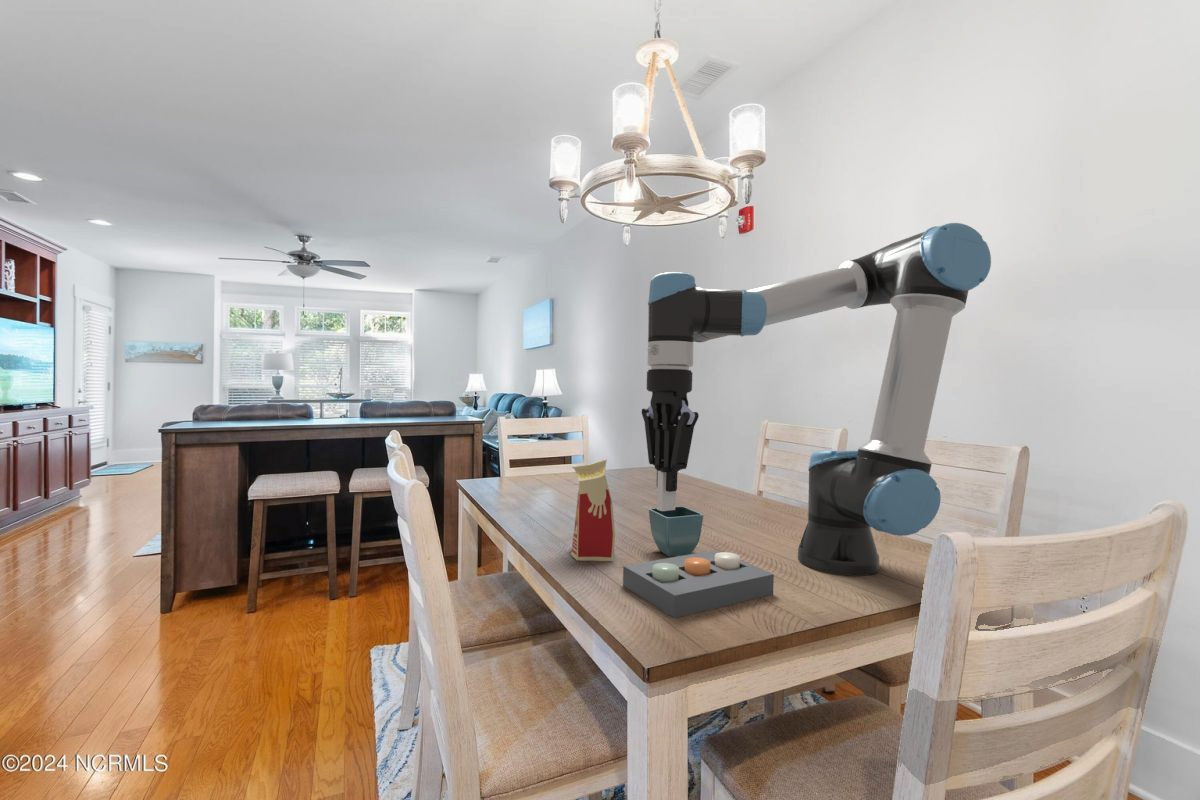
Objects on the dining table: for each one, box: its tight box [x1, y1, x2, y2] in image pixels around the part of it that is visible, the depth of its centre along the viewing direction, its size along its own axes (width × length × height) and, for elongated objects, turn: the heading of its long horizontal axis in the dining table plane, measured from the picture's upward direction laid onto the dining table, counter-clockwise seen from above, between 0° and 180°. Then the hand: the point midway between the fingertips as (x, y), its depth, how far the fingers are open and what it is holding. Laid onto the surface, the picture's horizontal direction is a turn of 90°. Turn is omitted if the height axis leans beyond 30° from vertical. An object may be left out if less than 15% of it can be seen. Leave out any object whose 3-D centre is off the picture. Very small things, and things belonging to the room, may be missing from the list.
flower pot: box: [648, 505, 704, 558], centre depth 114 cm, size 9×9×9 cm
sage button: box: [652, 563, 679, 583], centre depth 91 cm, size 4×4×3 cm
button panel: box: [622, 549, 775, 619], centre depth 94 cm, size 21×15×4 cm
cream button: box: [715, 551, 741, 571], centre depth 97 cm, size 4×4×3 cm
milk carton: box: [570, 458, 616, 562], centre depth 113 cm, size 9×9×20 cm
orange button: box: [685, 557, 710, 577], centre depth 94 cm, size 4×4×3 cm
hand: (666, 509), depth 90 cm, fingers closed
